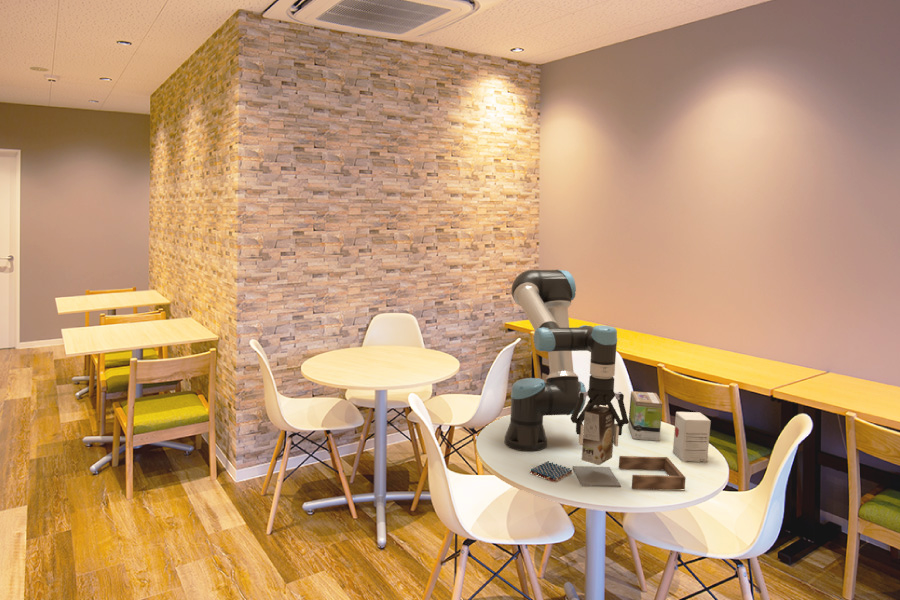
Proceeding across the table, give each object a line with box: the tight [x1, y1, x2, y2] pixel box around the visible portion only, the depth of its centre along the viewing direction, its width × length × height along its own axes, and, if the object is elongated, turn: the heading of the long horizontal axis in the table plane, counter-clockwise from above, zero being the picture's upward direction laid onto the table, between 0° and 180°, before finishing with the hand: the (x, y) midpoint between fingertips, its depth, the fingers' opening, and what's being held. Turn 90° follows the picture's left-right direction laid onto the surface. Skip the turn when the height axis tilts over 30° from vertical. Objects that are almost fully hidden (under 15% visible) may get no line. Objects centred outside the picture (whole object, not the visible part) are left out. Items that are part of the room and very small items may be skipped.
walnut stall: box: [618, 455, 687, 490], centre depth 199 cm, size 16×16×4 cm
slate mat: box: [572, 465, 622, 488], centre depth 199 cm, size 12×14×1 cm
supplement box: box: [672, 411, 712, 463], centre depth 217 cm, size 9×9×15 cm
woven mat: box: [529, 460, 573, 484], centre depth 201 cm, size 10×11×2 cm
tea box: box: [627, 390, 663, 442], centre depth 240 cm, size 15×10×15 cm
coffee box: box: [581, 406, 616, 466], centre depth 197 cm, size 9×6×16 cm
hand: (597, 444), depth 198 cm, fingers closed on coffee box, 10 cm apart
